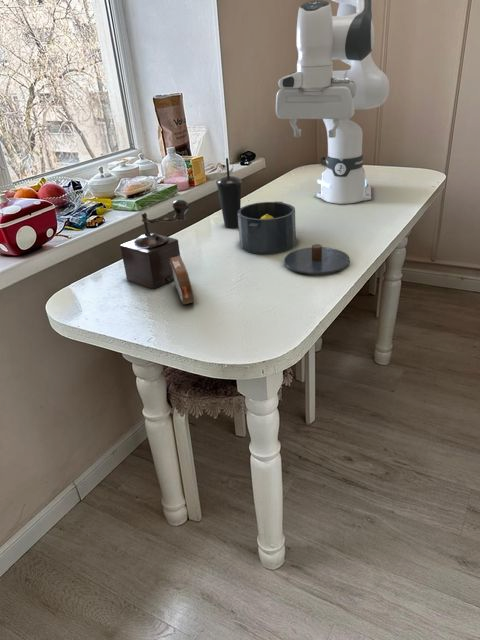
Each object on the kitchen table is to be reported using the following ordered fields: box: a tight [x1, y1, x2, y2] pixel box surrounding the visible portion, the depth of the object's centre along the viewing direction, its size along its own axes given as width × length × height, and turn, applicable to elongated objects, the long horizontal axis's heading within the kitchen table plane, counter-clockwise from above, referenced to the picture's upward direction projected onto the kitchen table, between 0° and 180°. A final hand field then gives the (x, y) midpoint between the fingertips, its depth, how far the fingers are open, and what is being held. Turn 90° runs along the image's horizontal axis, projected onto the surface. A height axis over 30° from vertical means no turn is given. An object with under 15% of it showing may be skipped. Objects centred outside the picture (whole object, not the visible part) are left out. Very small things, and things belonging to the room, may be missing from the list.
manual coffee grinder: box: [120, 199, 190, 290], centre depth 132 cm, size 16×11×18 cm
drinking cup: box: [215, 157, 243, 229], centre depth 160 cm, size 8×8×20 cm
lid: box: [284, 243, 351, 275], centre depth 136 cm, size 17×17×5 cm
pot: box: [238, 200, 297, 255], centre depth 148 cm, size 16×21×10 cm
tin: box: [170, 254, 195, 305], centre depth 123 cm, size 15×3×8 cm, turn 17°
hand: (314, 136), depth 141 cm, fingers open, 8 cm apart
